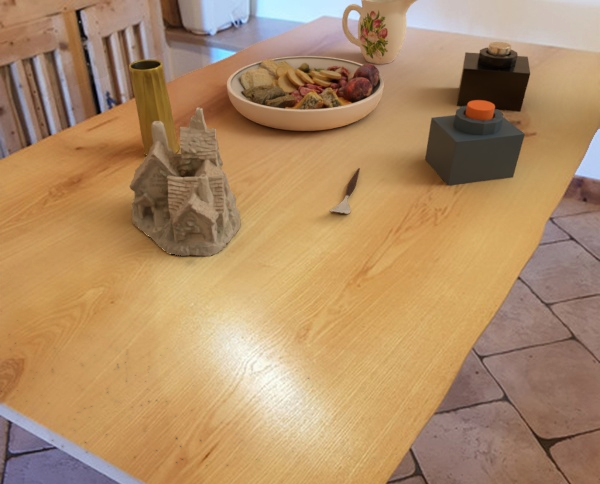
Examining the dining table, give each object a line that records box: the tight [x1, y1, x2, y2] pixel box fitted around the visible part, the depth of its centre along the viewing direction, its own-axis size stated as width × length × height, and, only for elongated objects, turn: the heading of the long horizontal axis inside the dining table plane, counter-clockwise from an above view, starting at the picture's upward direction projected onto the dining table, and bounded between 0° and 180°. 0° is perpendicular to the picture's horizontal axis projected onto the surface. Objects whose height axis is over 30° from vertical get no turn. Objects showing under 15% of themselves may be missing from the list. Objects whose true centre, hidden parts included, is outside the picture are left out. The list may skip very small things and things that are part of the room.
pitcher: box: [341, 0, 418, 65], centre depth 125 cm, size 11×18×14 cm, turn 61°
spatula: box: [328, 167, 361, 215], centre depth 81 cm, size 3×16×2 cm, turn 164°
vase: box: [128, 58, 180, 156], centre depth 89 cm, size 6×6×14 cm
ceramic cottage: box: [129, 106, 242, 257], centre depth 72 cm, size 16×16×15 cm
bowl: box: [226, 55, 385, 132], centre depth 106 cm, size 30×30×8 cm
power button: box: [487, 41, 512, 57], centre depth 104 cm, size 4×4×2 cm
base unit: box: [456, 46, 531, 112], centre depth 107 cm, size 12×10×9 cm
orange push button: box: [465, 100, 495, 120], centre depth 82 cm, size 4×4×2 cm
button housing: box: [424, 106, 526, 187], centre depth 85 cm, size 11×9×9 cm
